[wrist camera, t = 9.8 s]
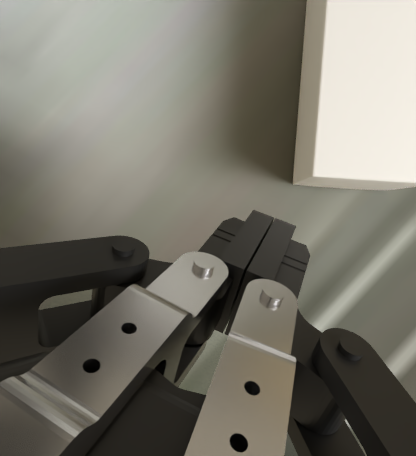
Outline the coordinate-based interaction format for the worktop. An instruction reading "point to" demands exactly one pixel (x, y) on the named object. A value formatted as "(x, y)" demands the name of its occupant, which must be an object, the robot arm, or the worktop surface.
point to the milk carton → (357, 96)
